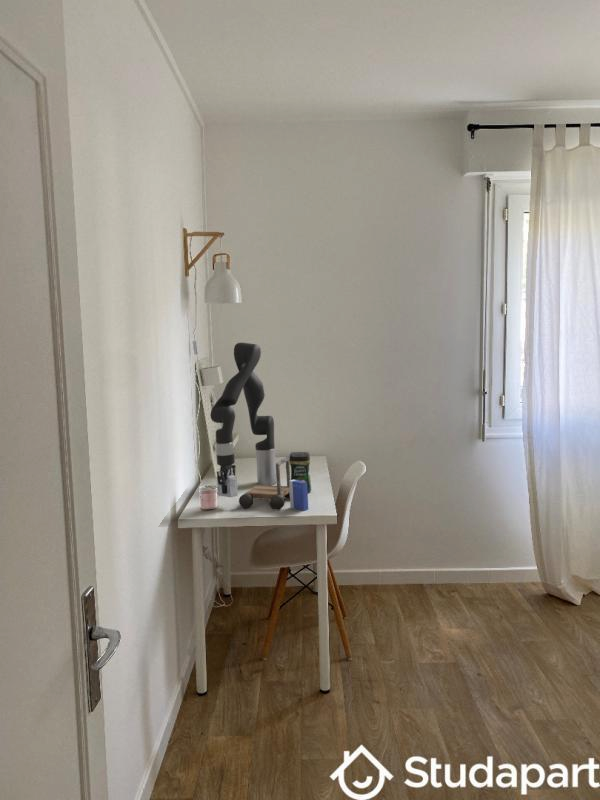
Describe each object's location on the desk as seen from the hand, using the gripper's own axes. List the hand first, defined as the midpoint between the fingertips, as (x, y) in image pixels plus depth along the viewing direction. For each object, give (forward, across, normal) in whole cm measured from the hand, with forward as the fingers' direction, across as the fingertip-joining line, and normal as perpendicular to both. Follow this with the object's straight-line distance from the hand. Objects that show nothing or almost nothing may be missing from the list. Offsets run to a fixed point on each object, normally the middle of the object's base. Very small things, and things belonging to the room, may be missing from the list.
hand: (227, 491), depth 279 cm
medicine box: (+2, 0, 0) cm, 2 cm away
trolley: (+7, +8, -15) cm, 19 cm away
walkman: (+7, +2, -31) cm, 32 cm away
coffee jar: (+7, +28, -23) cm, 37 cm away
